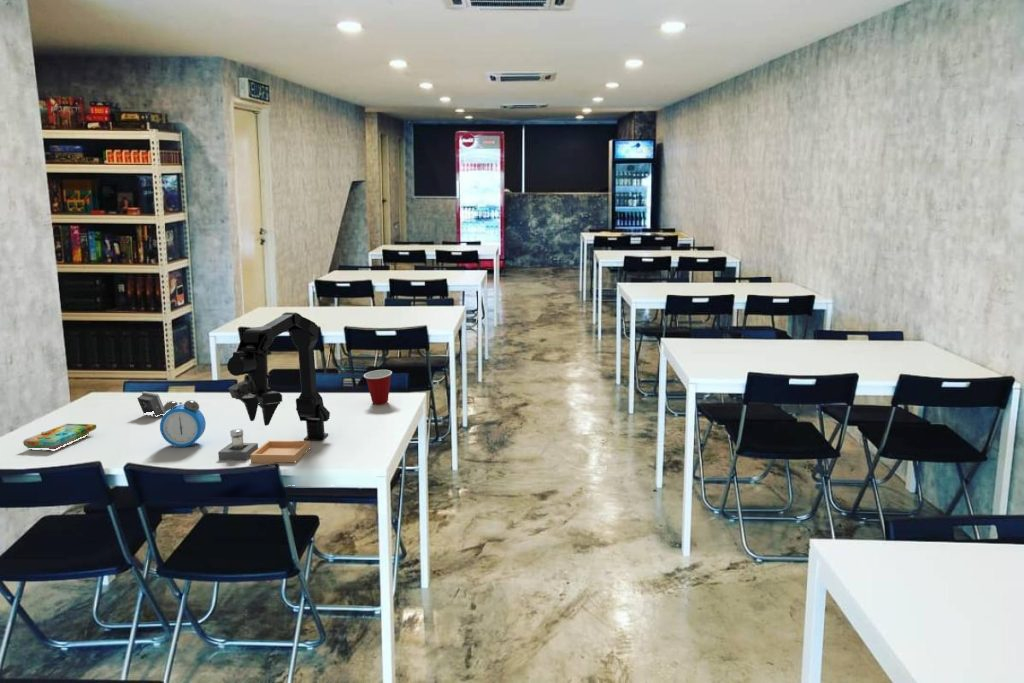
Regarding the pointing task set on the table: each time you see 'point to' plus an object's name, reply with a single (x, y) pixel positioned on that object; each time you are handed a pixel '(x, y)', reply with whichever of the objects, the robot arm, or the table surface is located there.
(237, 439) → the cylinder
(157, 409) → the electrical switch
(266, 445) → the tray
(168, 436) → the alarm clock
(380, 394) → the plastic cup
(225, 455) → the block
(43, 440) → the puzzle game
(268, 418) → the robot arm
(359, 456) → the table surface
